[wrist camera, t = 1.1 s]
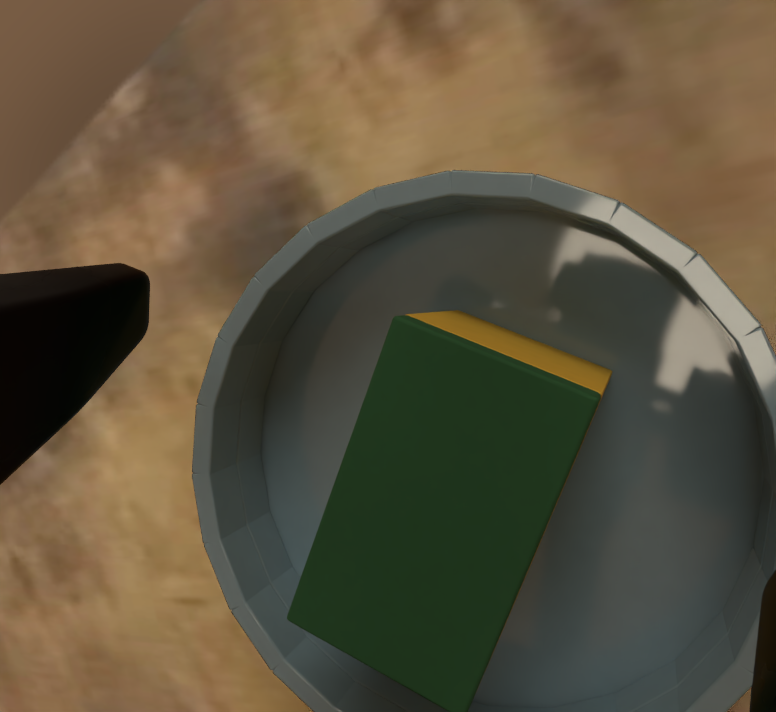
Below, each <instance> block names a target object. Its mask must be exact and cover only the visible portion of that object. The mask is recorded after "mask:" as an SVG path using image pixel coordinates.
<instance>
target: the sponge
mask: <svg viewBox="0 0 776 712" xmlns="http://www.w3.org/2000/svg"><path fill="white" fill-rule="evenodd" d="M611 375H612V371H611V370H609V369H607V368H604V367H602V366H599V365H597V364H594V363H592V362H589V361H586V360H584V359H581V358H579V357H576V356H574V355H571V354H569V353H566V352H564V351H561V350H558V349H556V348H553V347H551V346H548V345H546V344H543V343H541V342H538V341H536V340H533V339H530V338H528V337H525V336H523V335H520V334H518V333H515V332H513V331H510V330H508V329H505V328H503V327H500V326H497V325H495V324H492V323H490V322H487V321H485V320H482V319H480V318H477V317H475V316H472V315H469V314H467V313H464V312H462V311H459V310H454V311H441V312H428V313H416V314H406V315H401V316H394V318H393V319H392V322H391V325H390V328H389V330H388V333H387V336H386V339H385V342H384V344H383V347H382V350H381V353H380V356H379V358H378V361H377V364H376V367H375V370H374V373H373V375H372V378H371V381H370V384H369V387H368V389H367V392H366V395H365V398H364V401H363V404H362V406H361V409H360V412H359V415H358V418H357V420H356V423H355V426H354V429H353V432H352V434H351V437H350V440H349V443H348V446H347V449H346V451H345V454H344V457H343V460H342V463H341V465H340V468H339V471H338V474H337V477H336V480H335V482H334V485H333V488H332V491H331V494H330V496H329V499H328V502H327V505H326V508H325V510H324V513H323V516H322V519H321V522H320V525H319V527H318V530H317V533H316V536H315V539H314V541H313V544H312V547H311V550H310V553H309V556H308V558H307V561H306V564H305V567H304V570H303V572H302V575H301V578H300V581H299V584H298V586H297V589H296V592H295V595H294V598H293V601H292V603H291V606H290V609H289V612H288V615H287V620H288V621H290V622H291V623H293V624H295V625H297V626H298V627H300V628H302V629H304V630H305V631H307V632H309V633H311V634H312V635H314V636H316V637H318V638H320V639H321V640H323V641H325V642H327V643H328V644H330V645H332V646H334V647H335V648H337V649H339V650H341V651H342V652H344V653H346V654H348V655H350V656H351V657H353V658H355V659H357V660H358V661H360V662H362V663H364V664H365V665H367V666H369V667H371V668H372V669H374V670H376V671H378V672H380V673H381V674H383V675H385V676H387V677H388V678H390V679H392V680H394V681H395V682H397V683H399V684H401V685H402V686H404V687H406V688H408V689H409V690H411V691H413V692H415V693H417V694H418V695H420V696H422V697H424V698H425V699H427V700H429V701H431V702H432V703H434V704H436V705H438V706H439V707H441V708H443V709H445V710H447V711H448V712H468V710H469V708H470V706H471V703H472V701H473V699H474V696H475V694H476V692H477V689H478V687H479V685H480V682H481V680H482V678H483V675H484V673H485V671H486V668H487V666H488V664H489V661H490V659H491V657H492V654H493V652H494V650H495V647H496V645H497V643H498V640H499V638H500V636H501V633H502V631H503V629H504V626H505V624H506V622H507V620H508V617H509V615H510V613H511V610H512V608H513V605H514V603H515V601H516V598H517V596H518V594H519V591H520V589H521V587H522V584H523V582H524V580H525V577H526V575H527V573H528V570H529V568H530V565H531V563H532V561H533V558H534V556H535V554H536V551H537V549H538V547H539V544H540V542H541V540H542V537H543V535H544V533H545V530H546V528H547V525H548V523H549V521H550V518H551V516H552V514H553V511H554V509H555V507H556V504H557V502H558V500H559V497H560V495H561V492H562V490H563V488H564V485H565V483H566V481H567V478H568V476H569V474H570V471H571V469H572V467H573V464H574V462H575V460H576V457H577V455H578V452H579V450H580V448H581V445H582V443H583V441H584V438H585V436H586V434H587V431H588V429H589V427H590V424H591V422H592V420H593V417H594V415H595V412H596V410H597V408H598V405H599V403H600V401H601V398H602V396H603V394H604V391H605V389H606V387H607V384H608V382H609V380H610V377H611Z"/></svg>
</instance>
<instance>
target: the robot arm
mask: <svg viewBox="0 0 776 712" xmlns="http://www.w3.org/2000/svg"><path fill="white" fill-rule="evenodd" d="M149 297H150V281H149V278H148V276H147V275H146V273H145V272H143V271H141V270H138V269H135V268H133V267H130V266H128V265H125V264H122V263H114V264H104V265H93V266H83V267H72V268H62V269H51V270H41V271H30V272H20V273H9V274H0V485H1V484H2V483H3V482H4V481H5V480H6V479H7V478H8V477H9V476H10V475H11V474H12V473H13V472H15V471H16V470H17V469H18V468H19V467H20V466H21V465H22V464H23V463H24V462H25V461H26V460H28V459H29V458H30V457H31V456H32V455H33V454H34V453H35V452H36V451H37V450H38V449H39V448H40V447H42V446H43V445H44V444H45V443H46V442H47V441H48V440H49V439H50V438H51V437H52V436H53V435H54V434H56V433H57V432H58V431H59V430H60V429H61V428H62V427H63V426H64V425H65V424H66V423H67V422H68V421H69V420H70V419H71V418H73V417H74V416H75V415H76V414H77V413H78V412H79V411H80V409H81V408H82V407H83V406H84V405H85V404H86V403H87V402H88V401H89V400H90V399H91V398H92V396H93V395H94V394H95V393H96V392H97V391H98V389H99V388H100V387H101V386H102V385H103V384H104V383H105V381H106V380H107V379H108V378H109V377H110V376H111V374H112V373H113V372H114V371H115V370H116V369H117V368H118V366H119V365H120V364H121V363H122V362H123V361H124V359H125V358H126V357H127V356H128V355H129V354H130V353H131V351H132V350H133V349H134V348H135V347H136V346H137V344H138V343H139V342H140V341H141V340H142V338H143V337H144V335H145V333H146V331H147V328H148V323H149ZM750 712H776V570H775V571H774V572H773V574H772V575H771V576H770V578H769V579H768V581H767V583H766V585H765V588H764V590H763V594H762V599H761V608H760V617H759V626H758V635H757V644H756V653H755V662H754V671H753V680H752V690H751V701H750Z"/></svg>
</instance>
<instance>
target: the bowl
mask: <svg viewBox="0 0 776 712" xmlns="http://www.w3.org/2000/svg"><path fill="white" fill-rule="evenodd" d="M454 310H459V311H462V312H464V313H467V314H469V315H472V316H475V317H477V318H480V319H482V320H485V321H487V322H490V323H492V324H495V325H497V326H500V327H503V328H505V329H508V330H510V331H513V332H515V333H518V334H520V335H523V336H525V337H528V338H530V339H533V340H536V341H538V342H541V343H543V344H546V345H548V346H551V347H553V348H556V349H558V350H561V351H564V352H566V353H569V354H571V355H574V356H576V357H579V358H581V359H584V360H586V361H589V362H592V363H594V364H597V365H599V366H602V367H604V368H607V369H609V370H611V371H612V375H611V377H610V380H609V382H608V384H607V387H606V389H605V391H604V394H603V396H602V398H601V401H600V403H599V405H598V408H597V410H596V412H595V415H594V417H593V420H592V422H591V424H590V427H589V429H588V431H587V434H586V436H585V438H584V441H583V443H582V445H581V448H580V450H579V452H578V455H577V457H576V460H575V462H574V464H573V467H572V469H571V471H570V474H569V476H568V478H567V481H566V483H565V485H564V488H563V490H562V492H561V495H560V497H559V500H558V502H557V504H556V507H555V509H554V511H553V514H552V516H551V518H550V521H549V523H548V525H547V528H546V530H545V533H544V535H543V537H542V540H541V542H540V544H539V547H538V549H537V551H536V554H535V556H534V558H533V561H532V563H531V565H530V568H529V570H528V573H527V575H526V577H525V580H524V582H523V584H522V587H521V589H520V591H519V594H518V596H517V598H516V601H515V603H514V605H513V608H512V610H511V613H510V615H509V617H508V620H507V622H506V624H505V626H504V629H503V631H502V633H501V636H500V638H499V640H498V643H497V645H496V647H495V650H494V652H493V654H492V657H491V659H490V661H489V664H488V666H487V668H486V671H485V673H484V675H483V678H482V680H481V682H480V685H479V687H478V689H477V692H476V694H475V696H474V699H473V701H472V703H471V706H470V708H469V710H468V712H727V711H728V710H729V709H730V708H731V707H732V706H733V705H734V704H735V703H736V702H737V701H738V700H739V699H740V698H741V697H742V696H743V695H744V694H745V693H746V692H747V691H748V690H749V689H750V688H751V687H752V680H753V671H754V662H755V653H756V644H757V635H758V626H759V617H760V608H761V599H762V594H763V590H764V588H765V585H766V583H767V581H768V579H769V578H770V576H771V575H772V574H773V572H774V571H775V570H776V355H775V352H774V350H773V348H772V346H771V344H770V342H769V339H768V337H767V335H766V333H765V331H764V329H763V328H762V327H761V324H760V322H759V321H758V320H757V319H756V318H755V317H754V316H753V314H752V313H751V312H750V311H749V310H748V309H747V307H746V306H745V305H744V304H743V303H742V302H741V300H740V299H739V298H738V297H737V296H736V295H735V294H734V292H733V291H732V290H731V289H730V288H729V287H728V285H727V284H726V283H725V282H724V281H723V280H722V279H721V277H720V276H719V275H718V274H717V273H716V272H715V270H714V269H713V268H712V267H711V266H710V265H709V263H708V262H707V261H706V260H705V259H704V258H703V257H702V255H701V254H698V253H697V251H696V250H694V249H693V248H691V247H690V246H688V245H687V244H685V243H684V242H682V241H680V240H679V239H677V238H676V237H674V236H673V235H671V234H670V233H668V232H667V231H665V230H664V229H662V228H661V227H659V226H658V225H656V224H655V223H653V222H652V221H650V220H649V219H647V218H646V217H644V216H643V215H641V214H640V213H638V212H637V211H635V210H634V209H632V208H631V207H629V206H628V205H626V204H625V203H620V201H618V200H616V199H613V198H610V197H607V196H604V195H601V194H598V193H595V192H591V191H588V190H585V189H582V188H579V187H576V186H573V185H570V184H567V183H564V182H561V181H557V180H554V179H551V178H548V177H545V176H542V175H539V174H536V175H535V174H533V173H513V172H489V171H465V170H453V171H444V172H440V173H435V174H431V175H427V176H423V177H418V178H414V179H410V180H405V181H401V182H397V183H393V184H388V185H384V186H380V187H376V188H374V190H373V189H370V190H369V191H367V192H365V193H363V194H361V195H359V196H358V197H356V198H354V199H352V200H350V201H348V202H347V203H345V204H343V205H341V206H339V207H338V208H336V209H334V210H332V211H330V212H328V213H327V214H325V215H323V216H321V217H319V218H317V219H316V220H314V221H312V222H310V223H309V224H308V225H307V226H304V227H303V228H302V229H301V230H300V231H299V232H298V233H297V234H296V235H295V236H294V237H293V238H292V239H291V240H290V241H289V242H288V243H287V244H286V245H285V246H283V247H282V248H281V249H280V250H279V251H278V252H277V253H276V254H275V255H274V256H273V257H272V258H271V259H270V260H269V261H268V262H267V263H266V264H265V265H264V266H263V267H262V268H261V269H260V270H259V271H258V272H257V273H256V274H255V276H254V277H253V278H252V279H251V281H250V282H249V284H248V286H247V287H246V289H245V291H244V292H243V294H242V296H241V297H240V299H239V300H238V302H237V304H236V305H235V307H234V309H233V310H232V312H231V314H230V315H229V317H228V319H227V320H226V322H225V324H224V325H223V327H222V329H221V330H220V332H219V333H218V337H217V338H216V341H215V344H214V347H213V350H212V354H211V357H210V360H209V363H208V367H207V370H206V373H205V376H204V380H203V383H202V386H201V389H200V393H199V396H198V399H197V403H198V404H197V405H196V416H195V432H194V448H193V464H192V472H193V474H192V479H193V485H194V491H195V497H196V503H197V509H198V515H199V521H200V527H201V533H202V539H203V543H204V547H205V549H206V552H207V554H208V557H209V559H210V562H211V564H212V567H213V569H214V572H215V574H216V577H217V579H218V582H219V584H220V587H221V589H222V592H223V594H224V597H225V599H226V602H227V604H228V607H229V609H230V610H232V611H231V612H232V614H233V615H234V617H235V618H236V620H237V621H238V623H239V624H240V626H241V627H242V628H243V630H244V631H245V633H246V634H247V636H248V637H249V639H250V640H251V642H252V643H253V645H254V646H255V648H256V649H257V651H258V652H259V654H260V655H261V657H262V658H263V660H264V661H265V662H266V664H267V665H268V667H269V668H270V670H273V673H274V674H275V675H276V676H277V677H278V678H279V679H280V680H281V681H282V682H283V683H284V684H285V685H286V686H287V687H288V688H289V689H290V690H291V691H293V692H294V693H295V694H296V695H297V696H298V697H299V698H300V699H301V700H302V701H303V702H304V703H305V704H306V705H307V706H308V707H309V708H310V709H311V710H312V711H313V712H448V711H447V710H445V709H443V708H441V707H439V706H438V705H436V704H434V703H432V702H431V701H429V700H427V699H425V698H424V697H422V696H420V695H418V694H417V693H415V692H413V691H411V690H409V689H408V688H406V687H404V686H402V685H401V684H399V683H397V682H395V681H394V680H392V679H390V678H388V677H387V676H385V675H383V674H381V673H380V672H378V671H376V670H374V669H372V668H371V667H369V666H367V665H365V664H364V663H362V662H360V661H358V660H357V659H355V658H353V657H351V656H350V655H348V654H346V653H344V652H342V651H341V650H339V649H337V648H335V647H334V646H332V645H330V644H328V643H327V642H325V641H323V640H321V639H320V638H318V637H316V636H314V635H312V634H311V633H309V632H307V631H305V630H304V629H302V628H300V627H298V626H297V625H295V624H293V623H291V622H290V621H288V620H287V615H288V612H289V609H290V606H291V603H292V601H293V598H294V595H295V592H296V589H297V586H298V584H299V581H300V578H301V575H302V572H303V570H304V567H305V564H306V561H307V558H308V556H309V553H310V550H311V547H312V544H313V541H314V539H315V536H316V533H317V530H318V527H319V525H320V522H321V519H322V516H323V513H324V510H325V508H326V505H327V502H328V499H329V496H330V494H331V491H332V488H333V485H334V482H335V480H336V477H337V474H338V471H339V468H340V465H341V463H342V460H343V457H344V454H345V451H346V449H347V446H348V443H349V440H350V437H351V434H352V432H353V429H354V426H355V423H356V420H357V418H358V415H359V412H360V409H361V406H362V404H363V401H364V398H365V395H366V392H367V389H368V387H369V384H370V381H371V378H372V375H373V373H374V370H375V367H376V364H377V361H378V358H379V356H380V353H381V350H382V347H383V344H384V342H385V339H386V336H387V333H388V330H389V328H390V325H391V322H392V319H393V318H394V316H401V315H406V314H416V313H428V312H441V311H454Z"/></svg>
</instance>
